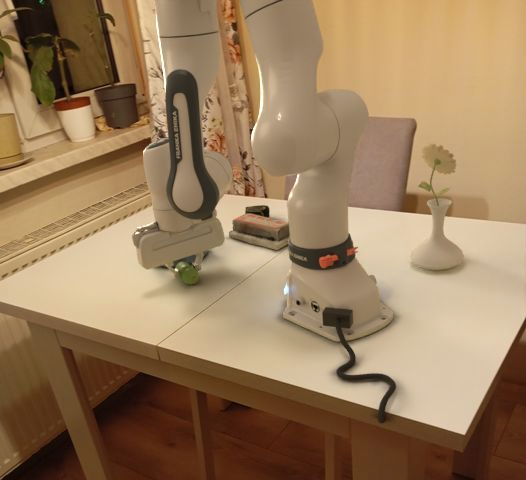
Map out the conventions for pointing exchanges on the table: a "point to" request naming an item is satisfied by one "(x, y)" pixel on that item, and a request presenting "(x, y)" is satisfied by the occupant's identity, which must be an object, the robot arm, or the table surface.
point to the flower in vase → (437, 217)
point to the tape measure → (258, 210)
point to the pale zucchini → (187, 273)
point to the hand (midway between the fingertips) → (187, 274)
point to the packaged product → (261, 231)
